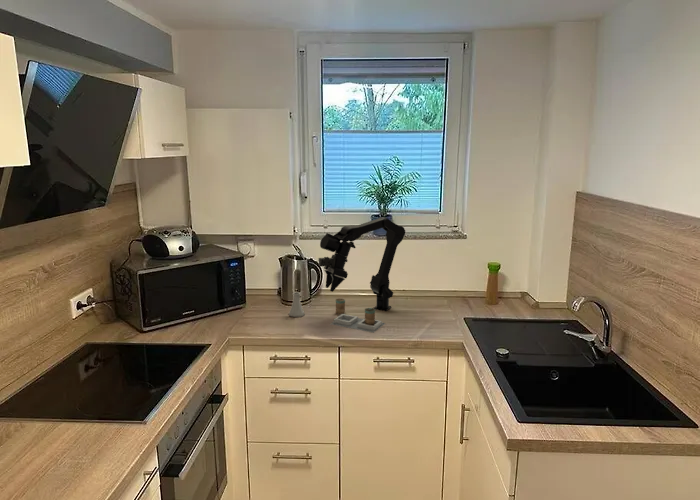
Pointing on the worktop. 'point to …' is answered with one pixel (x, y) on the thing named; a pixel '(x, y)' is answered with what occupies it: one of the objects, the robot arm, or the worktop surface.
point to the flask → (296, 306)
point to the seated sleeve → (370, 316)
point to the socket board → (356, 323)
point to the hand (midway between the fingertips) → (328, 289)
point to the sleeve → (340, 305)
